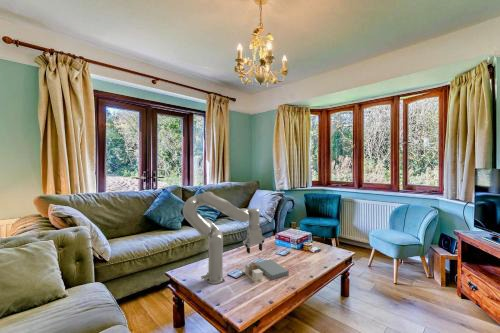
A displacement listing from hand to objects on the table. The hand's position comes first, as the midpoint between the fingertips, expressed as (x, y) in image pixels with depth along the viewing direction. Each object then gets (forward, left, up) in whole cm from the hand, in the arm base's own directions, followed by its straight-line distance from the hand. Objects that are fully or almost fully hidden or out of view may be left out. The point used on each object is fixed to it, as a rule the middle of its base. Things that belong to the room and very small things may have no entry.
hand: (254, 251), depth 158 cm
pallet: (0, 0, -18) cm, 18 cm away
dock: (+14, 0, -18) cm, 23 cm away
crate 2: (-1, -5, -16) cm, 17 cm away
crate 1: (0, +5, -16) cm, 17 cm away
